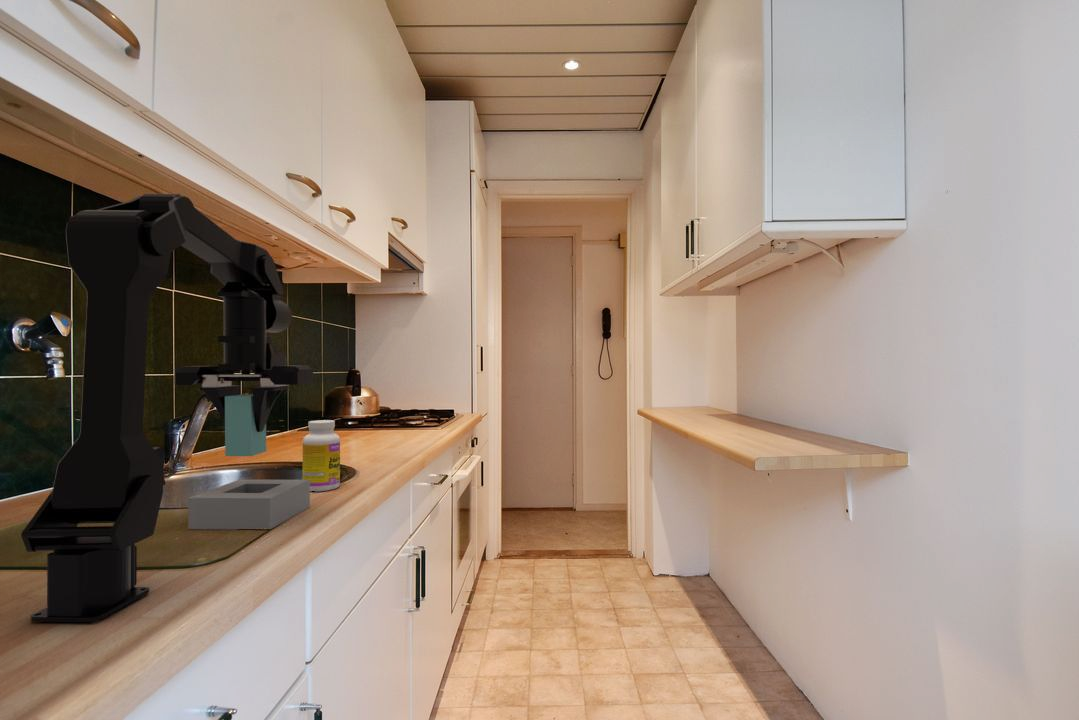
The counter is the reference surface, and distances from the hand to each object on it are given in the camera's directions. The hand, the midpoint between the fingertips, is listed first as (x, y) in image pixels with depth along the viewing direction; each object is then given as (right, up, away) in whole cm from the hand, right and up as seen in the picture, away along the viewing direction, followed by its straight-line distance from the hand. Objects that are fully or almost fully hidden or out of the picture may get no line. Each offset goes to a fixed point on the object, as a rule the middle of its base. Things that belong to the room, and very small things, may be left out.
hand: (246, 431), depth 80 cm
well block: (+1, -13, +1) cm, 13 cm away
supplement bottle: (+3, -14, +20) cm, 24 cm away
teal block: (0, -3, 0) cm, 3 cm away
